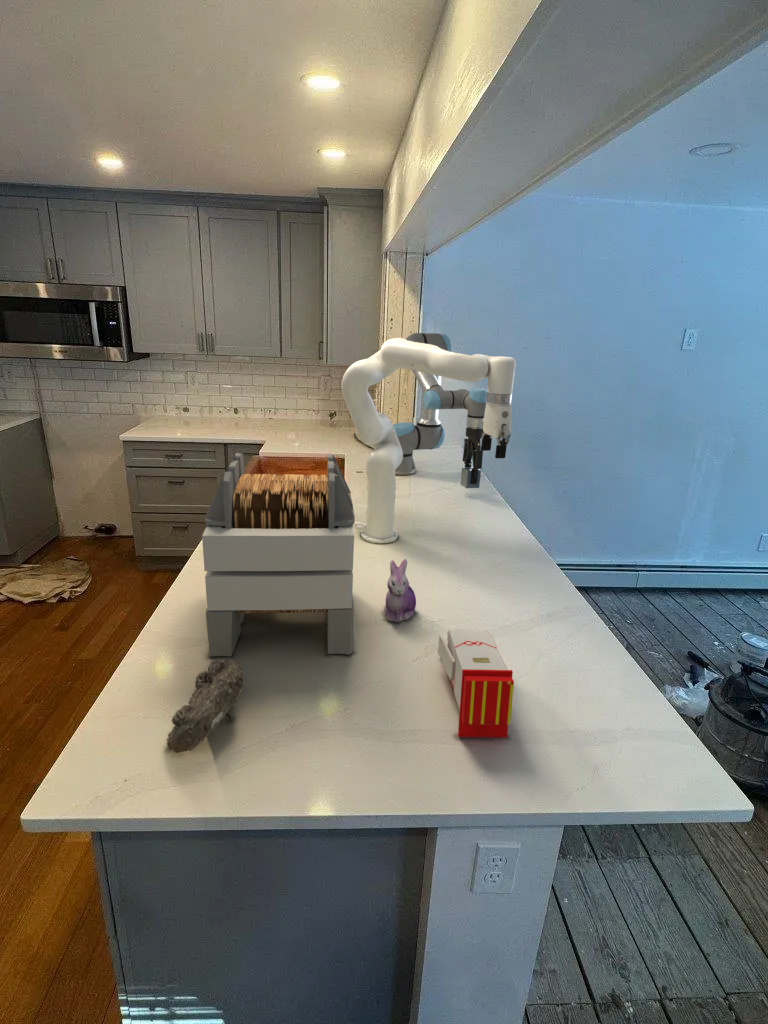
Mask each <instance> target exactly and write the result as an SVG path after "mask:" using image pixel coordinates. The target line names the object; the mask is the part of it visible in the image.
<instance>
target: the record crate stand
mask: <svg viewBox="0 0 768 1024" xmlns="http://www.w3.org/2000/svg"><path fill="white" fill-rule="evenodd" d="M244 460H245V459H244V453H243V452H241V453H240V452H235V454H234V456H233V458H232V460H230V463H229V465H228V467H227V470H226V471H225V472H224V473H223V475H222V478H221V479H220V482H219V484H218V487H217V489H216V491H215V494H214V495H213V497H212V500H211V502H210V505H209V507H208V509H207V512H206V514H205V517H204V523H205V525H206V527H205V529H204V531H203V533H202V535H201V540H202V553H203V554H202V556H203V566H204V567H203V569H204V572H206V574H205V576H204V580H205V581H204V583H205V597H206V609H205V620H206V621H205V622H206V634H207V639H208V640H207V641H208V653H207V655H208V657H211V658H216V657H232V654H233V652H234V649H235V647H236V645H237V643H238V640H239V637H240V635H241V624H243V623H244V619H245V615H246V614H272V613H273V614H285V613H286V614H288V613H289V614H291V613H293V614H295V613H299V614H300V613H316V612H317V613H326V635H327V639H326V640H327V654H328V655H351V654H352V653H353V652H354V638H355V637H354V636H355V634H354V633H355V606H354V605H355V604H354V596H353V589H354V588H353V587H354V573H353V570H354V554H355V553H354V552H355V551H354V549H355V532H354V527H353V525H355V522H356V521H355V520H356V515H355V511H354V503H353V499H352V492H351V490H350V488H349V485H348V484H347V481H346V479H345V477H344V475H343V472H342V470H341V469H340V466H339V463H338V461H337V459H336V457H335V455H334V453H327V461H326V462H327V466H326V467H327V469H326V470H327V471H326V472H327V473H326V474H321V475H320V476H319V475H318V474H310V475H308V474H307V475H306V474H301V473H299V474H294V473H293V474H292V473H285V474H284V473H283V474H278V475H277V474H276V473H273V474H272V473H262V474H261V473H258V474H257V473H252V474H251V473H245V461H244Z"/></svg>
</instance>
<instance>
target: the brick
mask: <svg viewBox="0 0 768 1024" xmlns="http://www.w3.org/2000/svg"><path fill="white" fill-rule="evenodd" d="M471 468H473V466H471V467H465V466H462V467H461V473H460V486H462V487H463V488H465V489H479V488H480V485H481V484H480V483H481V474H482V473H481V472H482V469H478V478H477V484H470V481H471V471H472V469H471Z"/></svg>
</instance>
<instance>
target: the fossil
mask: <svg viewBox="0 0 768 1024" xmlns="http://www.w3.org/2000/svg"><path fill="white" fill-rule="evenodd" d="M243 670H244V669H243V667H242V665H240V664H237V662H236V661H235V660H234V659H232V658H231V659H227V658H226V659H224V660H223V661H222V660H217V659H212V660H211V661H210V663H209V665H208V666H207V671H201V672H199V673H198V674H197V675H196V676H195V680H194V684H195V685H194V687H195V689H194V690H193V693H192V694H191V697H190V698H189V700H188V704H184V705H182V706H181V707H180V709H177V710H176V711H175V713H174V715H173V716H172V718H171V723H172V724H173V727H172V730H171V731H170V732H168V734H167V738H166V741H167V742H166V745H167V749H168V750H169V751H173V752H174V753H176V754H178V753H182V752H188V751H189V752H192V751H193V750H195V748H196V747H197V746H199V744H200V743H201V742H203V741H204V740H205V739H206V738H207V737H208V736H209V735H210V734H211V733H212V732H214V730H215V729H217V727H218V726H219V724H220V722H221V721H222V720H223V719H224V718H225V716H226V717H227V719H229V720H233V717H232V715H230V714H229V710H230V709H231V708H234V706H235V704H236V703H237V702H238V699H239V697H240V695H241V693H242V691H243V690H245V689H244V688H245V675H244V671H243Z"/></svg>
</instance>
